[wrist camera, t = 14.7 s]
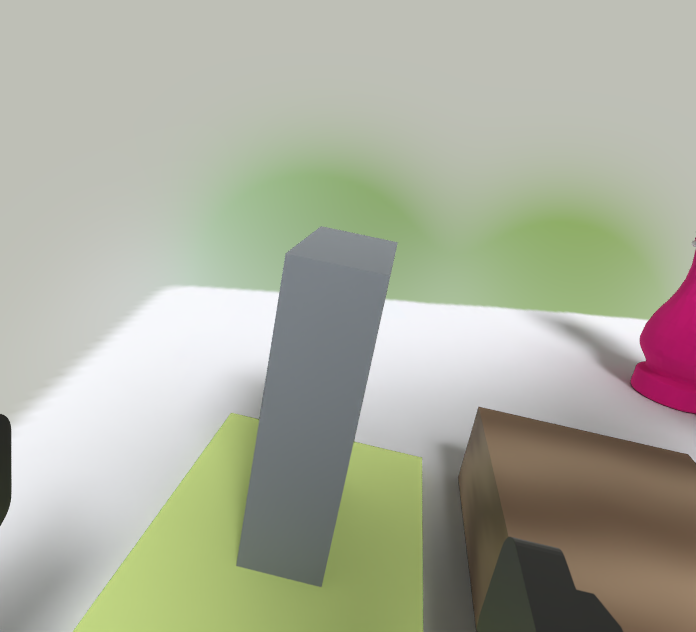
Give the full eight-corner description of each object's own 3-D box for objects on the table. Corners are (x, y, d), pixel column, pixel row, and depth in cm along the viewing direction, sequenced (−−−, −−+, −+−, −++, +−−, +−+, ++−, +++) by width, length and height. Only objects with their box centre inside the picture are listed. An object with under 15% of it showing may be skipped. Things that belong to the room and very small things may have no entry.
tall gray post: (278, 470, 25) (321, 226, 21) (344, 486, 25) (397, 242, 21) (236, 565, 19) (285, 253, 16) (321, 587, 19) (389, 275, 16)
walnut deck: (458, 477, 28) (478, 406, 27) (658, 524, 28) (688, 454, 26) (492, 769, 15) (535, 655, 14) (881, 873, 14) (963, 764, 13)
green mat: (229, 423, 29) (231, 412, 29) (419, 467, 28) (422, 457, 28) (66, 655, 16) (67, 638, 15) (418, 749, 15) (424, 733, 15)
